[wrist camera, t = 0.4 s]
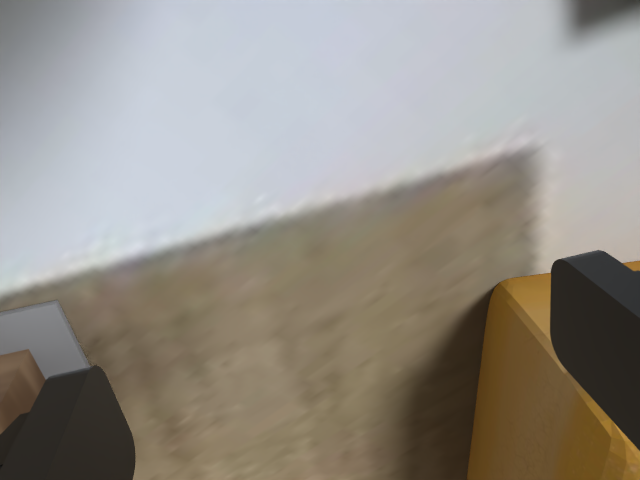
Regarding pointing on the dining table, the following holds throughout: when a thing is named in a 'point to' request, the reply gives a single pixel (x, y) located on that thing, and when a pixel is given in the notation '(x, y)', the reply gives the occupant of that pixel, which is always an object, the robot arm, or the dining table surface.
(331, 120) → the dining table surface
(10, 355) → the block
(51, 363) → the mat
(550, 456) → the bread
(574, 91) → the dining table surface
